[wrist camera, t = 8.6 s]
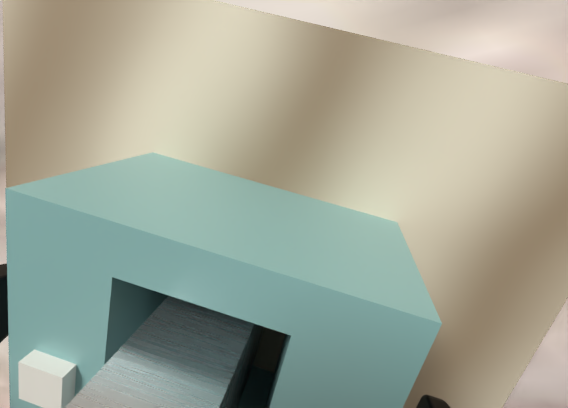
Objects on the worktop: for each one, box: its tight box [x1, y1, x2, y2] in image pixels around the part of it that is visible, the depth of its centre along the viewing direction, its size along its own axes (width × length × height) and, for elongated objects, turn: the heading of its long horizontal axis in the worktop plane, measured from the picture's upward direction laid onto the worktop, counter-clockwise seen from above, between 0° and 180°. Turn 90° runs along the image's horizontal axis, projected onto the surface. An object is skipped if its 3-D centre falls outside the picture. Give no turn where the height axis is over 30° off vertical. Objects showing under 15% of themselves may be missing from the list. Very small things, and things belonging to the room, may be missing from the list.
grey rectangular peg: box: [65, 296, 264, 408], centre depth 7 cm, size 2×3×6 cm, turn 166°
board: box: [3, 0, 568, 408], centre depth 10 cm, size 15×14×2 cm
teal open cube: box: [5, 152, 442, 408], centre depth 7 cm, size 6×6×4 cm
